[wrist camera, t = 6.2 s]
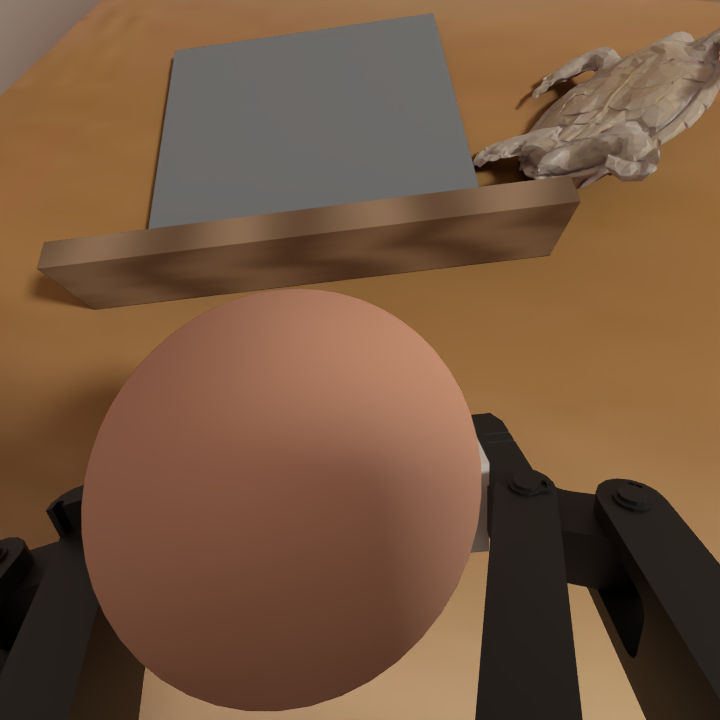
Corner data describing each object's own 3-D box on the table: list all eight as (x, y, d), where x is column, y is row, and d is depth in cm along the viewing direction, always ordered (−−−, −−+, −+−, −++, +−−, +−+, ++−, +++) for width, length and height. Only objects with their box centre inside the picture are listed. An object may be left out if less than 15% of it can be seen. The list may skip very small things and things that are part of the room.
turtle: (583, 285, 25) (781, 182, 15) (451, 214, 24) (579, 54, 14) (626, 111, 30) (797, -49, 20) (517, 44, 28) (646, -160, 19)
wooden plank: (541, 232, 23) (570, 175, 19) (549, 255, 22) (580, 201, 18) (98, 286, 24) (43, 242, 20) (93, 309, 23) (36, 268, 19)
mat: (432, 22, 31) (433, 13, 30) (479, 202, 24) (481, 194, 23) (178, 59, 32) (174, 50, 31) (152, 243, 25) (147, 236, 24)
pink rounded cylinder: (415, 415, 19) (443, 269, 8) (439, 580, 17) (528, 691, 6) (273, 430, 20) (113, 309, 9) (273, 594, 17) (41, 728, 6)
